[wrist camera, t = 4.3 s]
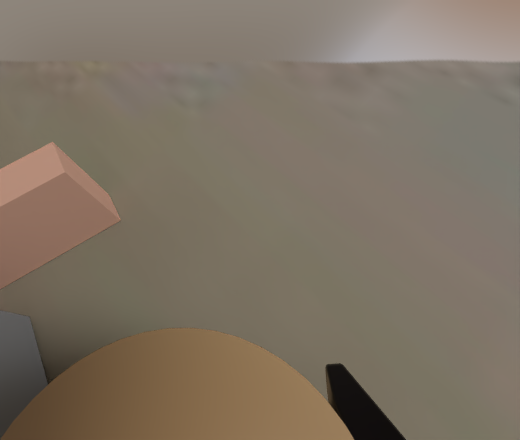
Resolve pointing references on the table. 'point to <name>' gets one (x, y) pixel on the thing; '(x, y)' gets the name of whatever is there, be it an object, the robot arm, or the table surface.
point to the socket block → (18, 367)
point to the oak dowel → (179, 394)
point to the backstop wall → (47, 210)
